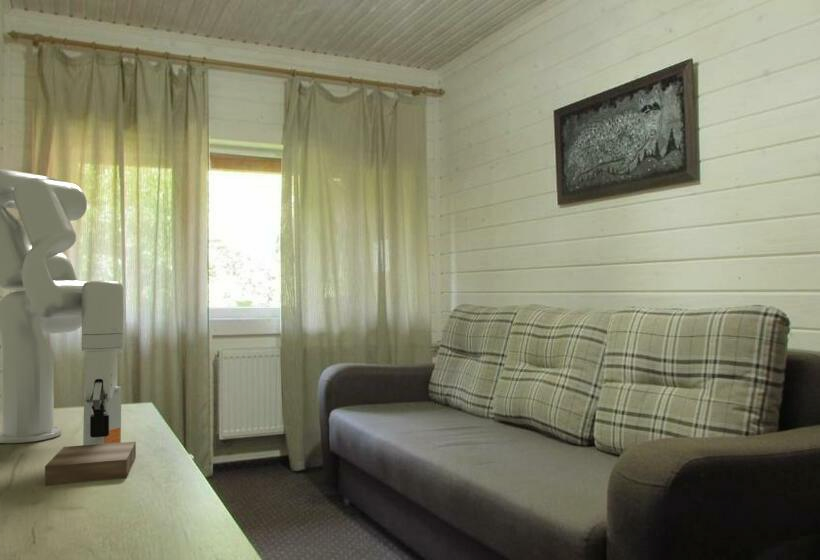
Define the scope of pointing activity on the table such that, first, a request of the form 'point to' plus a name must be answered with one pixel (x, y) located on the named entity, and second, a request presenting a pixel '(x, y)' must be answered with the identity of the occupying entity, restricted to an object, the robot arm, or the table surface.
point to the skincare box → (114, 421)
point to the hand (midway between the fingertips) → (102, 431)
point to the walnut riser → (91, 463)
